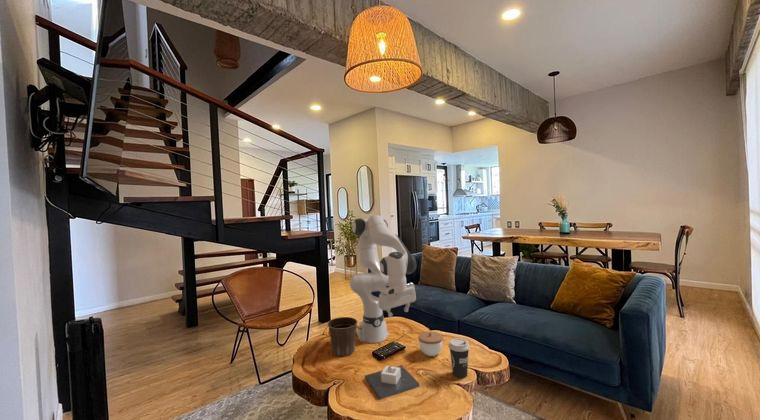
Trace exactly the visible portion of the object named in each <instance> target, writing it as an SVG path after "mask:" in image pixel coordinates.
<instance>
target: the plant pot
mask: <svg viewBox="0 0 760 420" xmlns="http://www.w3.org/2000/svg"><path fill="white" fill-rule="evenodd" d="M357 324H358V320H357V319H356V318H354V317H349V316H342V317H336V318H333V319H331V320H329V321H328V322H327V328H328V332H329V336H330V342H331V350H332V353H333V355H334V356H337V357H347V356H348V355H349V356H350V355H352V354H354V352H355V350H356V334H357V333H356V330H357Z"/></svg>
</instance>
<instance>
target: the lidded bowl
mask: <svg viewBox="0 0 760 420" xmlns="http://www.w3.org/2000/svg"><path fill="white" fill-rule="evenodd" d="M443 337H444V336H443V335H442V334H441V333H439V332H437V331H431V330H430V331H423V332H421V333H419V335H418V336H417V338H418V344H419V345H418V346H419V349H420V350H421V352H422V353H423V354H424V355H425V356H426V355H428V356H427V357H430V356H433V357H437V356H438V355H439V354H440V352H441V351H442V348H443ZM437 354H438V355H437ZM436 355H437V356H436Z"/></svg>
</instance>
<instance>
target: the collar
mask: <svg viewBox="0 0 760 420" xmlns="http://www.w3.org/2000/svg"><path fill="white" fill-rule="evenodd" d="M390 366H391V365H385V367H384V368H383V371H382V370H381V371H382V373H381V381H382V382H384V383H389V384H395V385H396V384H397V382H398V380H399V379H400V377H401V370H400V368H399V367H396V366H392V367H393V369H394V374H393V373H388V367H390Z"/></svg>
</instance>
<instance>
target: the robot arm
mask: <svg viewBox="0 0 760 420" xmlns="http://www.w3.org/2000/svg"><path fill="white" fill-rule="evenodd" d="M388 226H389V224H388V221H387V220H386V219H384V218H383V217H382V216H381V215H379V214H373V215H371V216H370V217H369V216H368V218H367V217H366V218H361V217H360V218H356V219H354V221H352V229H351V230H352V233H353V234H354V236H359V240H358V241H359V242H358V244H359V245H358V253H359V262H360V265H361V266H362V267H364V268H365V269H366V268H367V269H369V270H370V271H371V272H365V273H364V272H362V273H357V274H354V275H352V276H351V278H350V280H349V288H350V290H352V292H353V293H355V294H357V296H359V298H360V300H361V301H362V305H363V306H362V307H363V315H362V320H361V322H359V326H357V329H356V333H355V334H357V335H356V336H357V338H358V341H359V342H362V343H369V344H376V343H381V342H383V341H385V340H386V339H387V338H388V336H390V333H389V331H388V330H387V323H386V321H385V320H384V312H383V311H386V312H387V317H389V318H392V317H393V316H394V314H393V313H392V312H391V311H392V310H391V309H393V308H397V307H400V306H404V305H405V306H404V308H403V312H405V313H408V312H409V308H410V306H411V303H414V302H416V301H417V294H416V286H415V284H414V283H413V282H409V283H407V277H406V275H411V274H413V273H414V272H415V270H416V269H417V267H418V266H417V261H416V259H415V256H414V255H412V253H411V252H410V251H409V250H408V248H407V247H406V245H405V244H404V242H403V241H402V240H401V238H400V236H399V235H398V234H396V233H394V232H392V231H391V230H390V229H389V227H388ZM378 246H382V247H388V248H392V249H394V250H395V251H393V252H390V253H388V255H387V256H383V257H382V258H381V259H379V254H378ZM373 292H380V293H379V296H375V295H373V294H372V293H373Z"/></svg>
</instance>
